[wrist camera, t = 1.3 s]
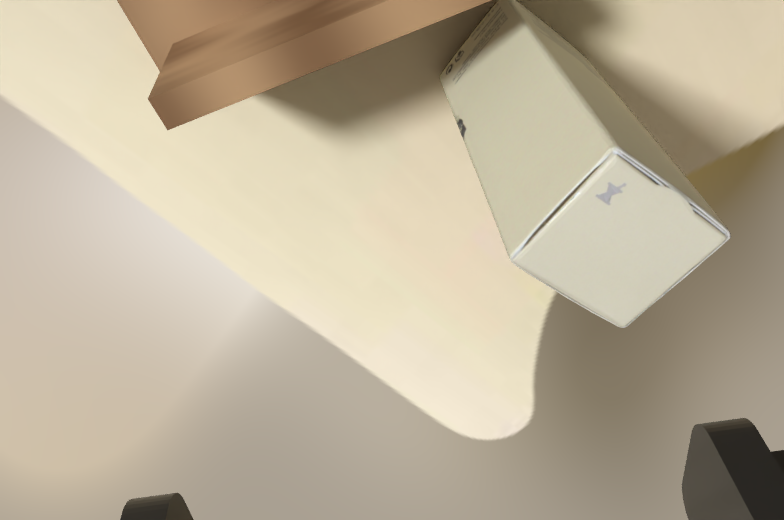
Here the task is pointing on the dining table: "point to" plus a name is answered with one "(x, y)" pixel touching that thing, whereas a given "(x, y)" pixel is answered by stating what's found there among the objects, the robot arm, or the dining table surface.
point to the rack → (261, 43)
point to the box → (573, 170)
